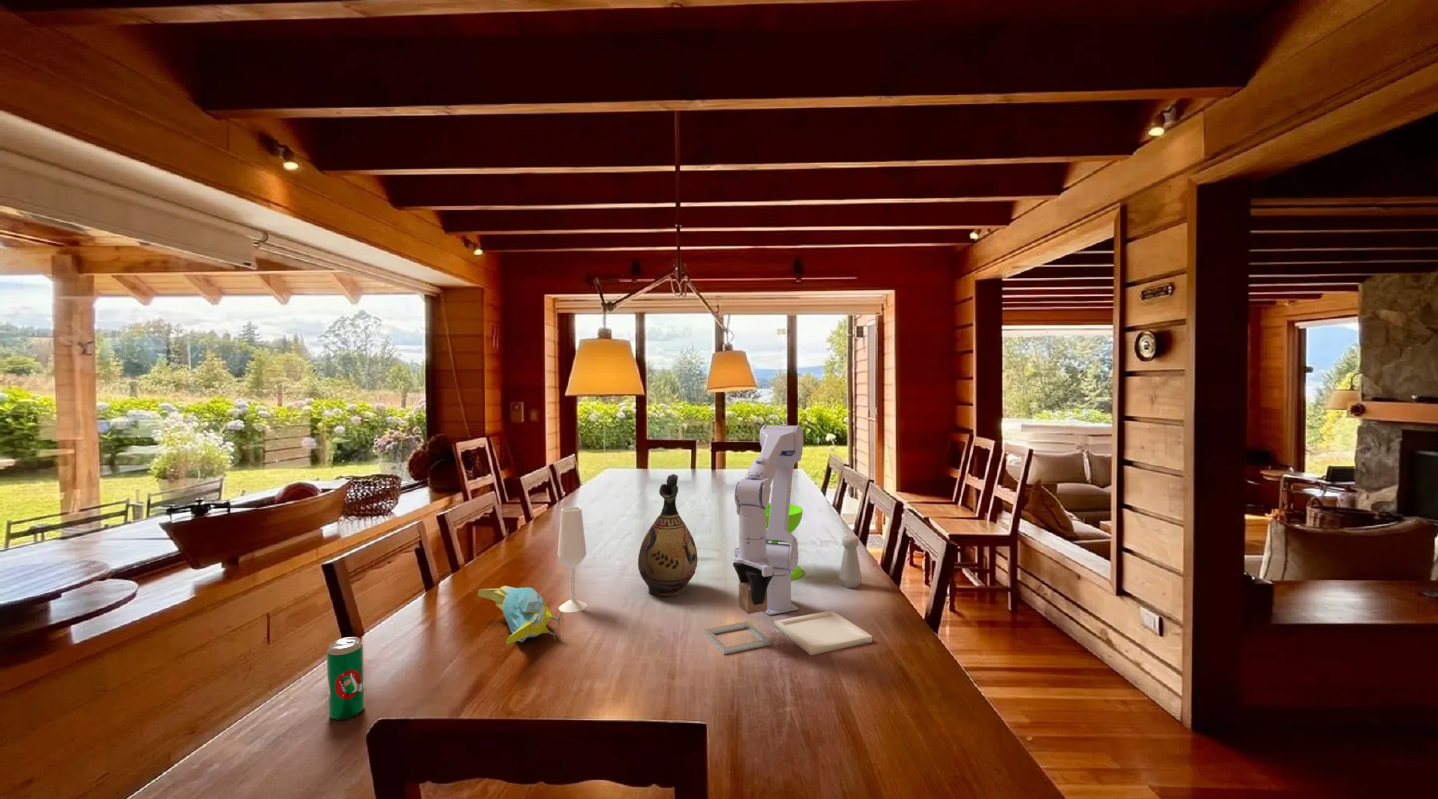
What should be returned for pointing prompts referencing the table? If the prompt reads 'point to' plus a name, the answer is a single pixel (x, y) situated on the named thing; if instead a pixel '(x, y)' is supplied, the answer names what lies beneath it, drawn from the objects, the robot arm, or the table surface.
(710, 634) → the frame
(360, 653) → the soda can
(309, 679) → the table surface
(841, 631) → the tray
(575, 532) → the champagne flute
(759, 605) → the walnut block
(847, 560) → the salt shaker
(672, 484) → the ceramic jug
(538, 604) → the decorative bird
